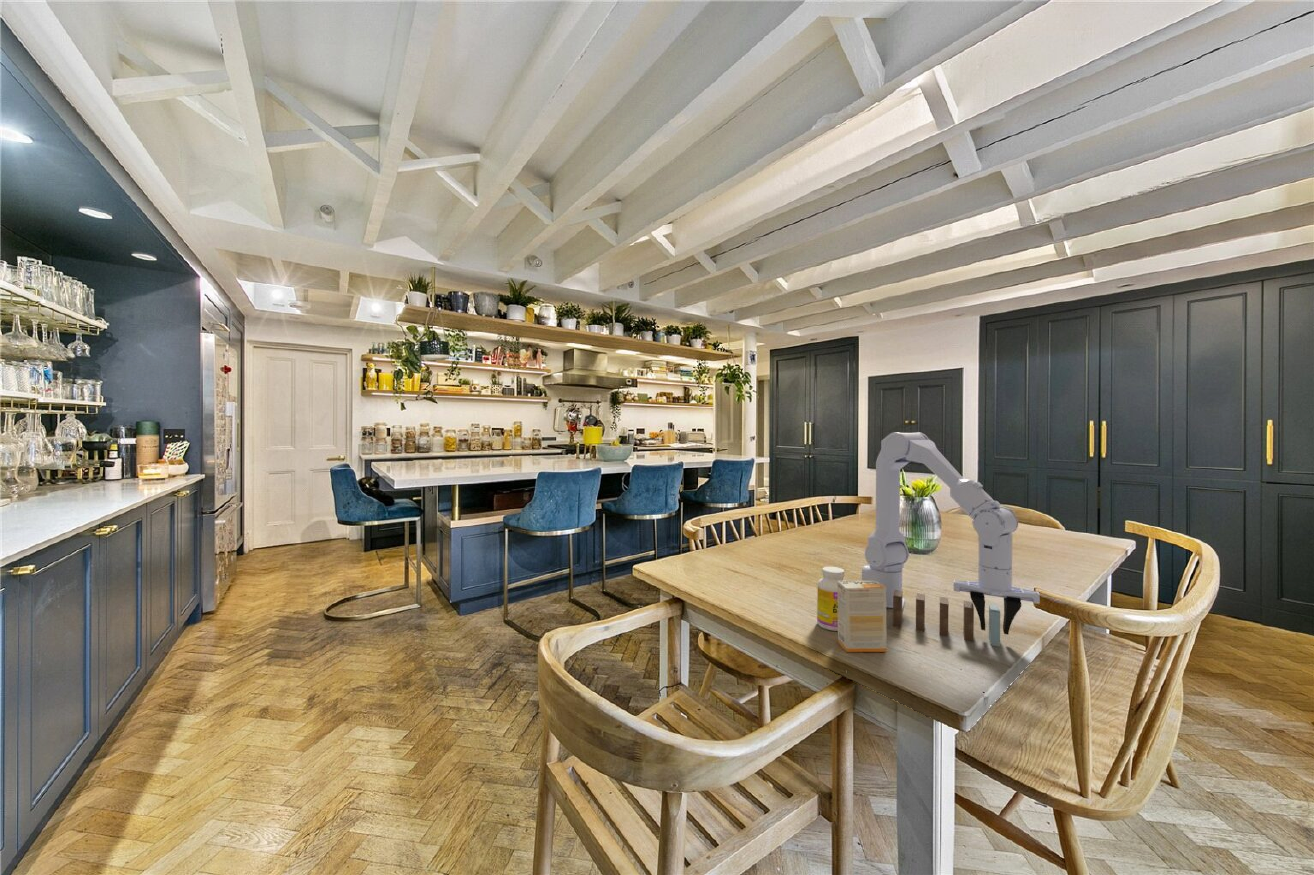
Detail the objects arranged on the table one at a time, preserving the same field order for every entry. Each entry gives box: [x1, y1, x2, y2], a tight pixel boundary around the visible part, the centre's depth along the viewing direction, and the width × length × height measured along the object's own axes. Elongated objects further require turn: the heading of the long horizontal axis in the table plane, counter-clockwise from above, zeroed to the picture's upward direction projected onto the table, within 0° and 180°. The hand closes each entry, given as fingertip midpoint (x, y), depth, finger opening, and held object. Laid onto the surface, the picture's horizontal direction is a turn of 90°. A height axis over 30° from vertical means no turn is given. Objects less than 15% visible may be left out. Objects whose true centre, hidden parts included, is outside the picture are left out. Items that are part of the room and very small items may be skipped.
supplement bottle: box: [816, 566, 845, 632], centre depth 106 cm, size 7×7×13 cm
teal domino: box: [988, 604, 1001, 648], centre depth 98 cm, size 2×4×7 cm, turn 149°
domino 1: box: [892, 590, 903, 629], centre depth 108 cm, size 2×4×7 cm, turn 149°
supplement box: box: [837, 580, 887, 653], centre depth 96 cm, size 8×5×13 cm, turn 90°
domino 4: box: [962, 600, 975, 642], centre depth 101 cm, size 2×4×7 cm, turn 149°
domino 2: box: [915, 592, 926, 633], centre depth 105 cm, size 2×4×7 cm, turn 149°
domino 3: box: [938, 596, 950, 638], centre depth 103 cm, size 2×4×7 cm, turn 149°
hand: (994, 630), depth 99 cm, fingers open, 3 cm apart
